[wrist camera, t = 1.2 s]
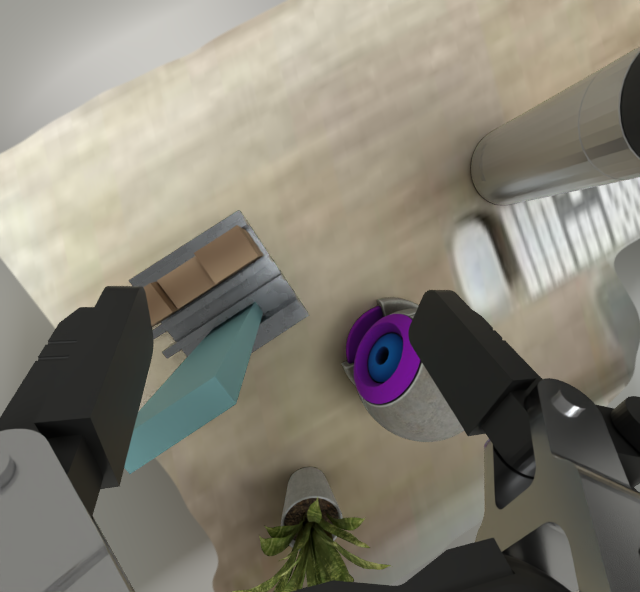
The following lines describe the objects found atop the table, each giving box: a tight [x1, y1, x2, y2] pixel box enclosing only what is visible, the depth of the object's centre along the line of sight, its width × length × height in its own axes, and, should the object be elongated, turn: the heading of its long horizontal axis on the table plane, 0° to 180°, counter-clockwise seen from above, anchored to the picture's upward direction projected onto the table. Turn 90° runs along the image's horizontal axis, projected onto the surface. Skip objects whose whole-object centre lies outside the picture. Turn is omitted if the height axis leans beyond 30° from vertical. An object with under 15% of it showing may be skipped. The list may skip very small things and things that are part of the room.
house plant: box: [233, 467, 391, 592], centre depth 33 cm, size 14×14×16 cm
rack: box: [129, 210, 309, 358], centre depth 34 cm, size 14×14×6 cm
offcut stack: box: [143, 225, 264, 327], centre depth 30 cm, size 3×13×9 cm, turn 122°
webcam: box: [342, 297, 464, 442], centre depth 33 cm, size 13×13×15 cm
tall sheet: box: [124, 302, 263, 474], centre depth 25 cm, size 2×6×22 cm, turn 122°
